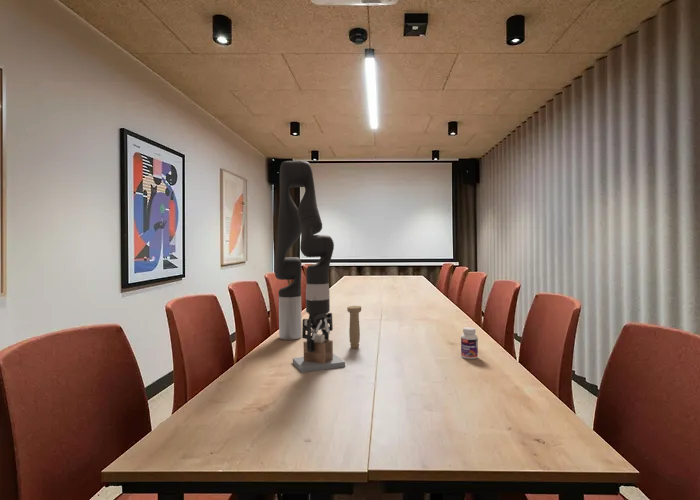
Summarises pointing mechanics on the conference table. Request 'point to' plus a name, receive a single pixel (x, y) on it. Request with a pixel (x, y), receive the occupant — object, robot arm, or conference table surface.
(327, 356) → the open cubby box
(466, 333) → the pill bottle
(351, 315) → the handle
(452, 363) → the conference table surface
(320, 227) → the robot arm
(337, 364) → the base
